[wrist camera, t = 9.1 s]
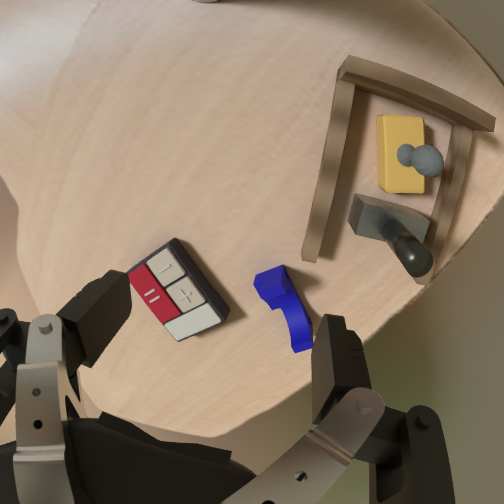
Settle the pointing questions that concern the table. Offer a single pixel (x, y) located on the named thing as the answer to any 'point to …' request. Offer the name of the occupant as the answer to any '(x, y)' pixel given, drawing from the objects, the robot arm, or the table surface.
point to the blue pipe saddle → (286, 305)
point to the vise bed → (417, 96)
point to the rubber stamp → (405, 154)
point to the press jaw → (393, 230)
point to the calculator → (178, 292)
